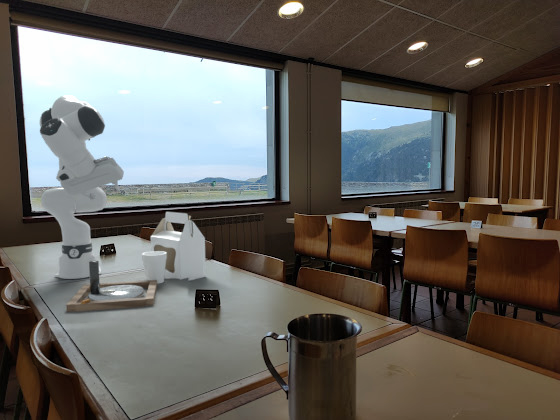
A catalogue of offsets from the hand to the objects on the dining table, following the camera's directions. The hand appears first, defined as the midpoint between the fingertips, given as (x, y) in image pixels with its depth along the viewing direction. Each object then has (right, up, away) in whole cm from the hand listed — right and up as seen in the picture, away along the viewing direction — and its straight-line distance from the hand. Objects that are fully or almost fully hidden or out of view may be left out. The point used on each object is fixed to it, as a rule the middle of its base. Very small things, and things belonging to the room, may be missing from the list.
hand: (105, 194), depth 144 cm
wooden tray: (+4, -37, 0) cm, 38 cm away
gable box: (+17, -35, +37) cm, 53 cm away
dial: (+4, -36, 0) cm, 36 cm away
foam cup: (+11, -36, +21) cm, 43 cm away
